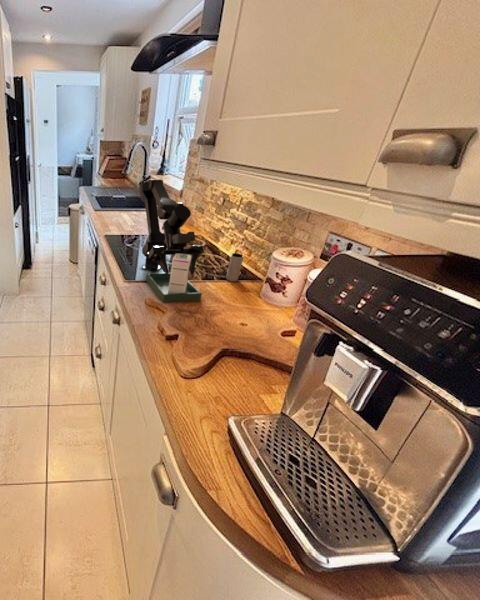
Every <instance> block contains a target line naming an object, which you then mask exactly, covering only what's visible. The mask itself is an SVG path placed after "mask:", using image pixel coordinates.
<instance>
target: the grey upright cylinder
mask: <svg viewBox="0 0 480 600" xmlns="http://www.w3.org/2000/svg"><path fill="white" fill-rule="evenodd" d="M244 257H245V255H244V254H242V253H231V255H230V258H229V262H228V267H227V271H226V275H225V279H226V280H227V281H229V282H237V281H239V277H240V273H241V269H242V265H243V262H244Z"/></svg>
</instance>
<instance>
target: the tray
mask: <svg viewBox="0 0 480 600" xmlns="http://www.w3.org/2000/svg"><path fill="white" fill-rule="evenodd" d="M170 275H171V272H168V275H166V274H165V272H150V273H149V272H148V273H146V275H145V281H146V283H147V284H148V286H149V287H150V288H151V290H153V292H154V293H155V295H156V296H157V297H158V298H159V299H160V301H161V302H162V303H180V302H181V303H182V302H183V303H185V302H200V301H201V299H202V292H201V291H200V290H199V288H197V287H195V285H194V284H192V283H191V282H190V281H189V280H188V281H187V287H186V293H170V294H168V289H169V282H170Z"/></svg>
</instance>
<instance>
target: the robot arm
mask: <svg viewBox="0 0 480 600" xmlns="http://www.w3.org/2000/svg"><path fill="white" fill-rule="evenodd" d="M138 194H139V198H140V200H141V201H142V202H143V203H144V207H145V214H146V223H147V231H148V232H147V233H148V235H147V237H146V239H145V243H144V244H143V246H142V247H141V248H142V249H141V253H142V255H143V256H144V257H145V261H144V262H145V263H144V265H143V266H142V267H141V269H142V270H147V271H150V272H158V271H159V270H160V269H161V270H162V271H163V273H165V274H166V275H168V273H169V268H168V263H167V256H174V255H175V253H179V254H187V255H191V263H190V269H189V273H190V275H193V274H194V273H195V270H196V269H195V267H196V263H197V259H199V257H201V256H202V255H203V254H204V253H205V252H206V251H205V247H204V246H203V245H202V244H192V245H191V246H190V247H189V248H186V247H187V246H188V244H191V242H194V241H195V240H196V234H195V231H188V232H186V233H184V232H181V228H182V227H183V226H184V225H185V224H186V223H187V221H188V220H189V218H191V215H192V212H191V211H192V210H190V208H189V207H188V206H187V205H185V204H184V203H183V202H176V201H175V200H174V199H171V198H170V196H169V193H168V191H167V189H166V187H165V185H164V180H163V179H161V178H152V179H149V180H147V181H142V182H141V183H140V184H139V185H138ZM159 220H161V221H163V220H164V222H163V223H162V226H160V221H159ZM160 227H161V228H160ZM161 230H163V232H162V231H161Z"/></svg>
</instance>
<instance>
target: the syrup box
mask: <svg viewBox="0 0 480 600" xmlns="http://www.w3.org/2000/svg"><path fill="white" fill-rule="evenodd" d="M190 263H191V255H187V254H179V253H175V255H173V257H172V262H171V269H170V273H171V275H170V282H169V289H168V294H170V293H186V287H187V281H189V275H190Z"/></svg>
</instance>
